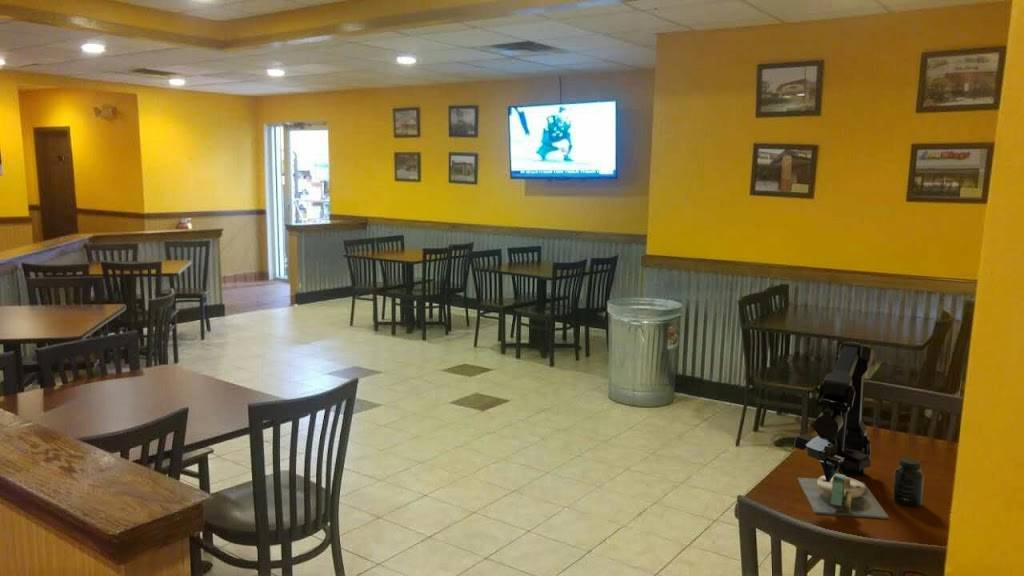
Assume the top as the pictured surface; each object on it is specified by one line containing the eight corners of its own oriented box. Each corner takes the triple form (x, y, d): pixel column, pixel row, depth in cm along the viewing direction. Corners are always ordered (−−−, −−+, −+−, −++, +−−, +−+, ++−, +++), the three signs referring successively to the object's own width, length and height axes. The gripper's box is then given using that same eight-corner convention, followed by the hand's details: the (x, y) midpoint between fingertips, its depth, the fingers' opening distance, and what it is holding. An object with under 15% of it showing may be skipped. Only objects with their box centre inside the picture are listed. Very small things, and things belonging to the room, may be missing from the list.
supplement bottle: (895, 495, 202) (899, 453, 200) (923, 502, 197) (927, 459, 196) (890, 503, 196) (893, 461, 195) (918, 511, 192) (922, 467, 190)
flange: (820, 475, 207) (821, 455, 207) (866, 484, 202) (868, 463, 201) (811, 499, 192) (812, 478, 191) (861, 509, 186) (863, 487, 185)
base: (863, 483, 209) (864, 463, 208) (888, 519, 188) (890, 497, 187) (797, 479, 212) (798, 459, 211) (814, 513, 191) (816, 491, 190)
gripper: (783, 420, 194) (779, 475, 197) (849, 444, 178) (843, 503, 181) (809, 413, 200) (804, 466, 203) (874, 435, 185) (868, 492, 187)
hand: (828, 481), depth 193 cm, fingers closed
